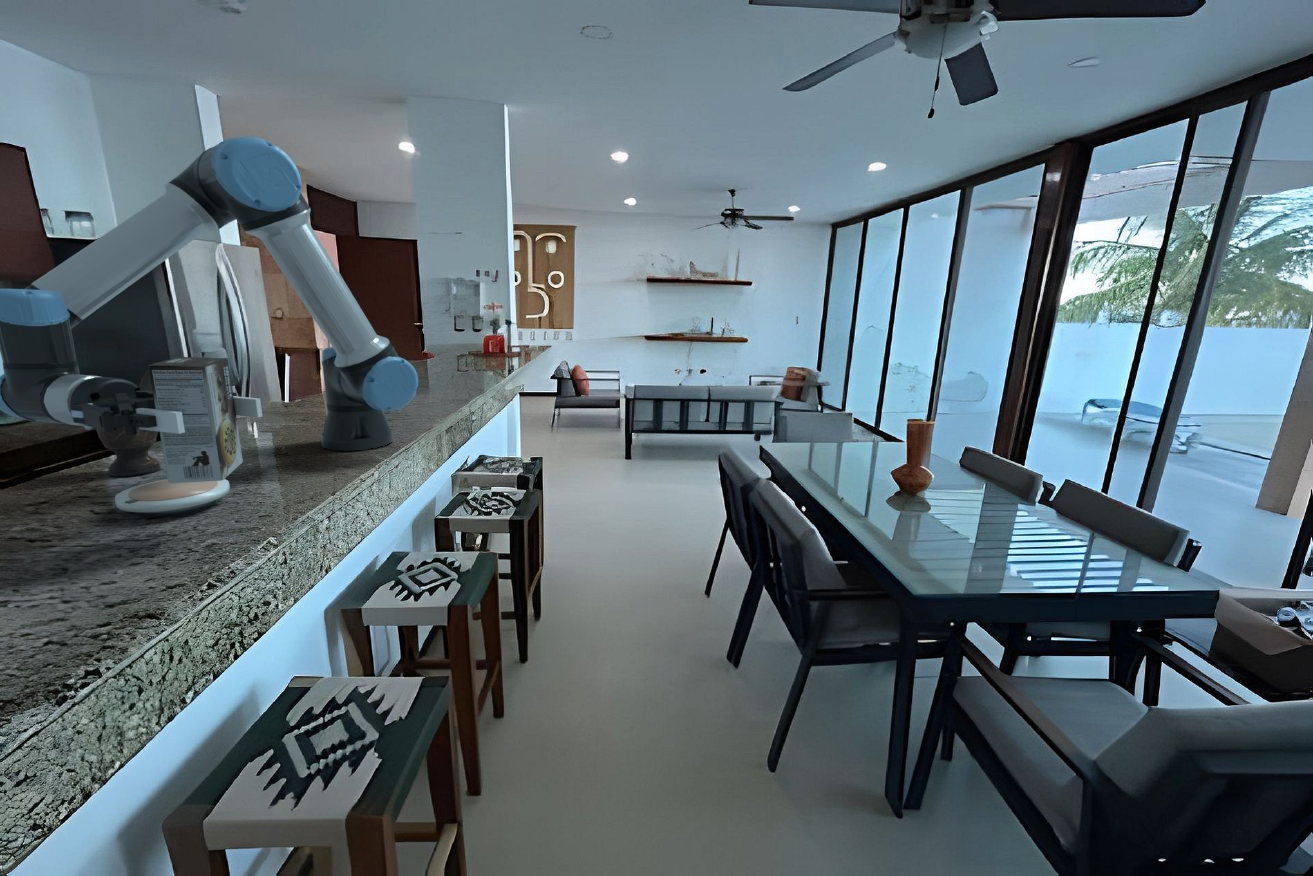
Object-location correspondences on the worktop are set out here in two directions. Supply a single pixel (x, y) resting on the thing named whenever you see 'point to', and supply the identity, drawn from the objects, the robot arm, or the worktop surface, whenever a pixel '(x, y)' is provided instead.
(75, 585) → the worktop surface
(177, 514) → the turntable base
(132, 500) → the turntable platter
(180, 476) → the coffee box
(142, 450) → the mortar and pestle
